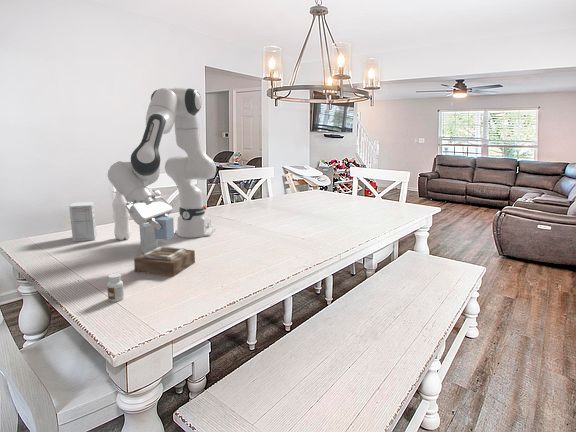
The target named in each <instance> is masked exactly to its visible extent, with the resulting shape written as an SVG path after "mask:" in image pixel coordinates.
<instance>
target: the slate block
mask: <svg viewBox="0 0 576 432" xmlns="http://www.w3.org/2000/svg"><path fill="white" fill-rule="evenodd" d="M155 221H156V222H158V223H161V225H162V226H163V227H162V228H161V229H160V230H157V228H156V227H154V231H155V239H158V240H160V241H162V240H163V241H168V240H170V239H172V238H174V237H175V232H174V231H175V229H174V228H175V227H174V226H175V225H174V217H170V216H169V217H159V218H156V219H155Z"/></svg>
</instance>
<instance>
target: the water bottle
mask: <svg viewBox="0 0 576 432" xmlns="http://www.w3.org/2000/svg"><path fill="white" fill-rule="evenodd" d="M126 203H128V202H127V201H126V200H125V198H124V196H123V195H122V194H121V193H119V192H118V191H117V190H116V189H115V196H114V198H113V201H112V203H111V204H112V205H111V206H112V214H113V215H112V217H113V221H114V231H113V233H114V237H115V238H116V240H119V241H123V240H124V239H125V240H129V239H130V236H131V234H132V232H131V231H132V230H131V227H130V217H131V216H130V214H129V213H128V210H127V208H126Z"/></svg>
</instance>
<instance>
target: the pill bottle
mask: <svg viewBox="0 0 576 432" xmlns="http://www.w3.org/2000/svg"><path fill="white" fill-rule="evenodd" d="M107 279H108V282H107V284H106V288H107V289H106V290H107V299H108V301H109V302H113V303H115V302H120V301H122V300H123V299H124V298H125V296H124V295H125V294H124V282H123V281H122V276H121V274H120V273H111V274H108V277H107Z"/></svg>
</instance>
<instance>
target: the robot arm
mask: <svg viewBox="0 0 576 432" xmlns="http://www.w3.org/2000/svg"><path fill="white" fill-rule="evenodd" d="M201 108H202V97H201V94H200V92H199V91H198V90H196V89H193V88H189V87H188V88H183V87H174V88H163V87H162V88H158V89H156V90H154V91H153V92H152V94H151V95H150V102H149V105H148V108H147V110H146V115H145V129H144V133H143V135H142V139H141V141H140V143H139V144H138V145H137V146H136V148H134V149H133V151H132V153H131V154H130V161H120V160H119V161H117V162H115V163H113V164H112V165H110V167H109V169H108V171H107V179H108V181H109V182H110V183H111V185H112V186H113V187H114V189H115V191H116V190H117V191H118V192H119V193H121V194H122V195H123V196H124V198H125V200H126V201H127V202H128V203H126V208H127V210H128V213H129V215H130V216H129V217H131V218H132V220H133V221H134V222H135V223H136V224H137V225H138V226H139V225H142V224H148V223H149V224H150V225H152V226H154V227H156V228H157V230H160V229H161V228H162V227H163V226H162V225H161V223H158V222H156V221H155V219H156V218H159V217H170V216H169V215H170V214H171V213H172V212H173V210H174V209H173V207H172V205H171V204H170V202H168V201H167V199H166V198H165V197H164V196H162V193H161V192H160V190H157V189H151V188H148V187H147V186H151V185H152V184H154V183H156V182H157V181H158V179H159V177H160V170H161V168H160V166H161V155H160V152H159V148H160V144H161V141H162V137H163V135H167V134H169V133H170V132H171V130H172V129H173V126H174V133H175V142H176V145H177V147H178V148H179V149H180V150H182V151H184V152H185V153H186V155H187V156H182V155H181V156H172V157H168V158H167V160H166V161H165V163H164V164H165V165H164V170H165V172H166V174H167V176H168V177H169V178H170V179H172V181H173V182H174V183H175V185H176V187H177V190H178V194H179V195H178V196H179V209H178V212H179V216H178V218H177V227H176V228H177V230H174V231H175V232H174V234H176V235H177V236H178V237H182V238H188V239H189V238H190V239H191V238H202V237H210V236H212V234H213V233H214V232H215V231H216V230H217V228H216V226H213V225H212V219H211V218H210V217H209V216H208V215H207V214H206V210H207V208H208V207H207V206H206V205H204V200H203V199H204V195H203V191H202V189H201V188H199V187H198V186H196V185H195V183H194V181H193V180H195V181H205V180H206V181H207V180H212V179H213V178H214V177H215V175H216V172H217V165H216V162H215V161H214V160H213V159H212V158H211V157H209V156H208V155H207V153H206V151H205V150H204V148H203V145H202V141H201V137H200V127H199V126H200V125H199V119H198V114H197V113H199V112H200V110H201Z"/></svg>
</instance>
